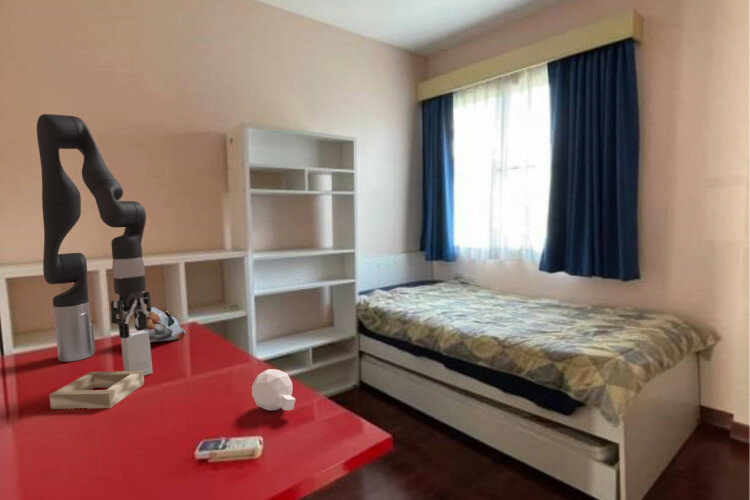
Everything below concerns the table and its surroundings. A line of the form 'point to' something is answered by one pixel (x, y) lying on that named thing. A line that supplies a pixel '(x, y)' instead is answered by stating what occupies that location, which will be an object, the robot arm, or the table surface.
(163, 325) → the lucky cat figurine
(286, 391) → the perfume bottle
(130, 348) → the skincare box
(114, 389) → the square wooden frame
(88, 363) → the table surface
